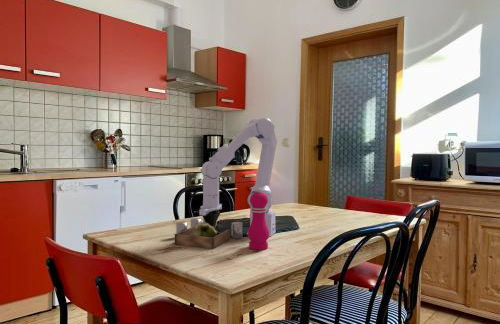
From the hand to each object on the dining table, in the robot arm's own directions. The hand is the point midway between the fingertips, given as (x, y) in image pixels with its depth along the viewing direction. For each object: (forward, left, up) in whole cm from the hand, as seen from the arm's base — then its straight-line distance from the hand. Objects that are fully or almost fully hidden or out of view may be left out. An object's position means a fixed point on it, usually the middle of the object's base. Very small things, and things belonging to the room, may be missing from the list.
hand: (211, 231), depth 139 cm
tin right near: (+9, -5, -2) cm, 11 cm away
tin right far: (+11, +3, -2) cm, 11 cm away
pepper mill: (-20, +5, -3) cm, 21 cm away
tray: (+1, +5, -2) cm, 5 cm away
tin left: (-8, -4, -2) cm, 10 cm away
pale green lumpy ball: (0, +6, -2) cm, 6 cm away
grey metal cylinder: (+8, -14, -2) cm, 16 cm away
